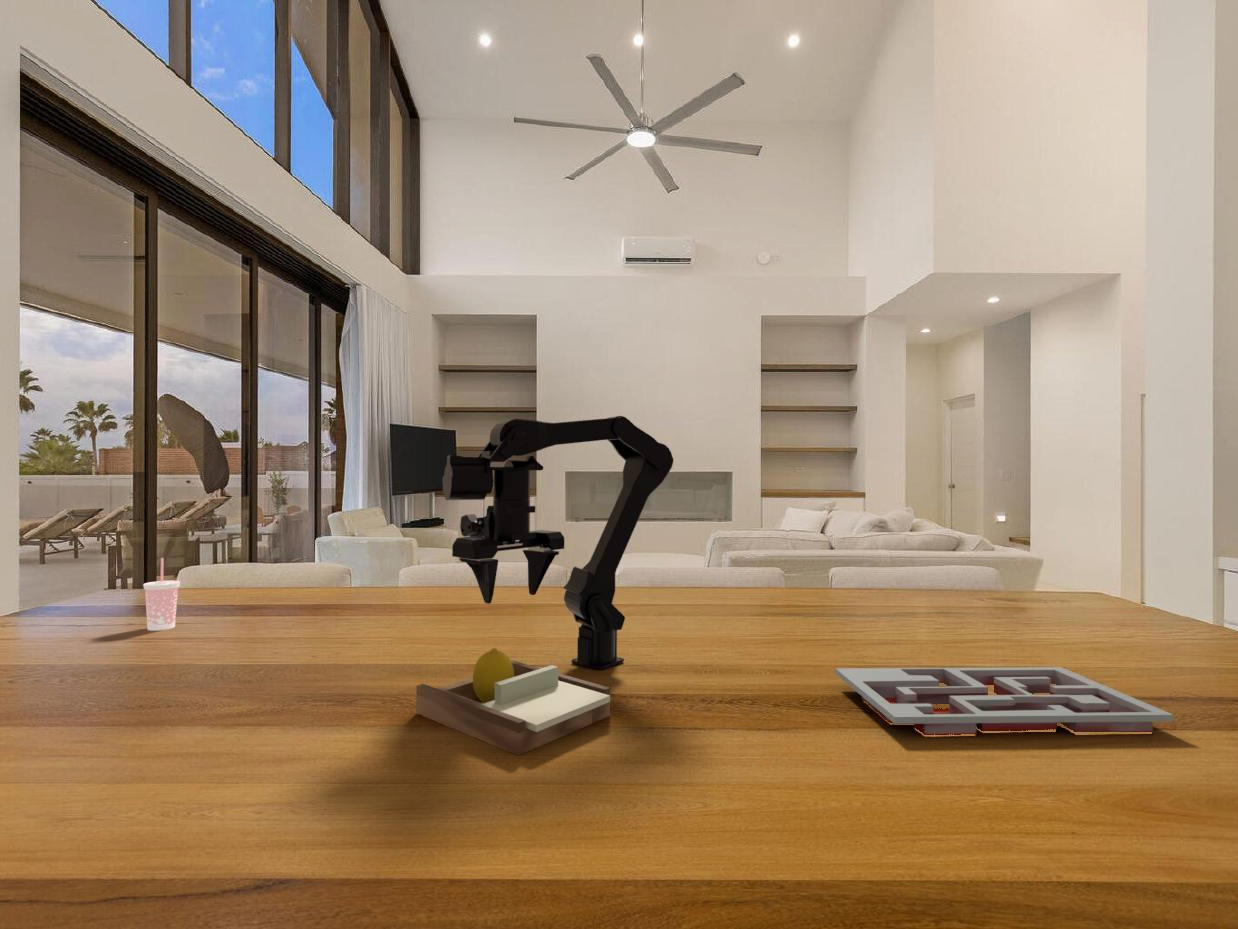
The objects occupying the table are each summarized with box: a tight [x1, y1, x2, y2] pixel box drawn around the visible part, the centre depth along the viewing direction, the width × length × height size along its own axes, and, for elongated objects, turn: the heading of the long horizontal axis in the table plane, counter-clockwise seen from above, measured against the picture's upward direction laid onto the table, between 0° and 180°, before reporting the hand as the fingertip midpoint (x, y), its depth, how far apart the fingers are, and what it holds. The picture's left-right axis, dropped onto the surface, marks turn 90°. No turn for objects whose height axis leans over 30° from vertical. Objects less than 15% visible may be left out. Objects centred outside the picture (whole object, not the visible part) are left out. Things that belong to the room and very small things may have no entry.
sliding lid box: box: [415, 659, 611, 757], centre depth 88 cm, size 16×20×4 cm
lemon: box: [472, 648, 514, 703], centre depth 91 cm, size 6×6×8 cm
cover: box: [481, 664, 611, 732], centre depth 84 cm, size 13×10×3 cm
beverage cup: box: [142, 557, 181, 632], centre depth 134 cm, size 6×6×14 cm
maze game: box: [834, 666, 1175, 735], centre depth 91 cm, size 35×20×3 cm, turn 92°
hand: (510, 598), depth 105 cm, fingers open, 9 cm apart
